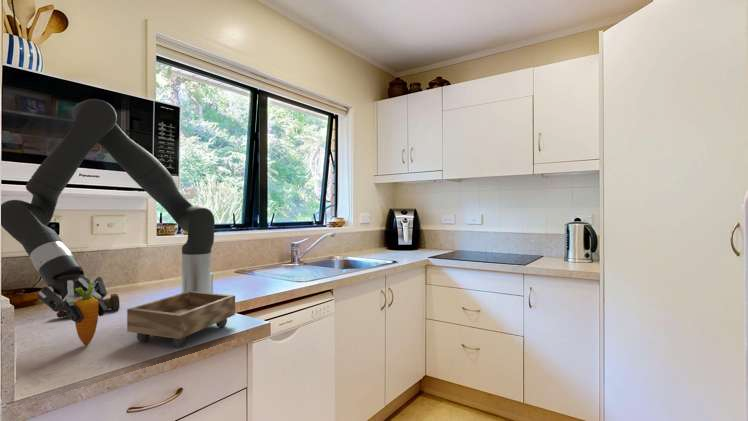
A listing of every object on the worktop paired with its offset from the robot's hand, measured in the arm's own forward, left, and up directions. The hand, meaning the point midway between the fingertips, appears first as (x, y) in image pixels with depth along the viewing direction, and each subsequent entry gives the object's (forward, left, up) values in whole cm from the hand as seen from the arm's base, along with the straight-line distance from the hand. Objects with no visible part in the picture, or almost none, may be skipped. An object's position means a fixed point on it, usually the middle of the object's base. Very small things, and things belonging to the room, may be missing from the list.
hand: (92, 316), depth 88 cm
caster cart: (-14, +14, -7) cm, 21 cm away
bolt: (-18, -27, -8) cm, 33 cm away
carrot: (0, -2, -7) cm, 8 cm away
